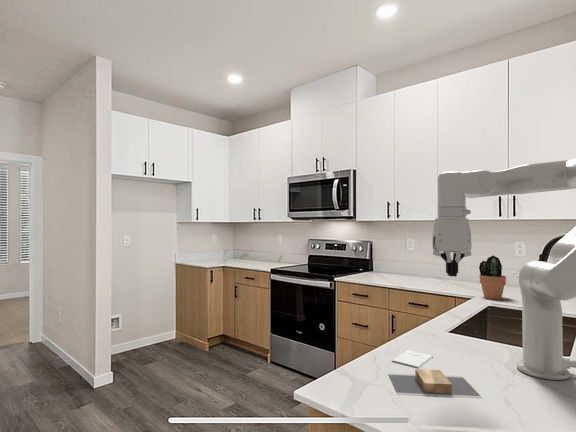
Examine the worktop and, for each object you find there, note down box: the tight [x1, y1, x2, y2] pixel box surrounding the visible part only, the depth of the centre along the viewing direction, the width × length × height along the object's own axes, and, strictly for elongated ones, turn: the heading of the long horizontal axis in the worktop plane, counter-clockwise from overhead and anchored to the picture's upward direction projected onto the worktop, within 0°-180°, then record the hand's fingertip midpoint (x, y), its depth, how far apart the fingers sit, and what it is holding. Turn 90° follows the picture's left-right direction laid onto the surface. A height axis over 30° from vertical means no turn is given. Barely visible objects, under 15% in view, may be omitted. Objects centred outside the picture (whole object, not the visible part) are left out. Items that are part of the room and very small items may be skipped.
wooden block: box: [414, 368, 452, 393], centre depth 96 cm, size 2×9×6 cm
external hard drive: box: [391, 349, 434, 369], centre depth 114 cm, size 2×8×12 cm
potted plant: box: [478, 255, 507, 301], centre depth 216 cm, size 14×14×25 cm
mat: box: [387, 372, 483, 399], centre depth 96 cm, size 20×13×1 cm, turn 85°
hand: (452, 275), depth 109 cm, fingers closed
